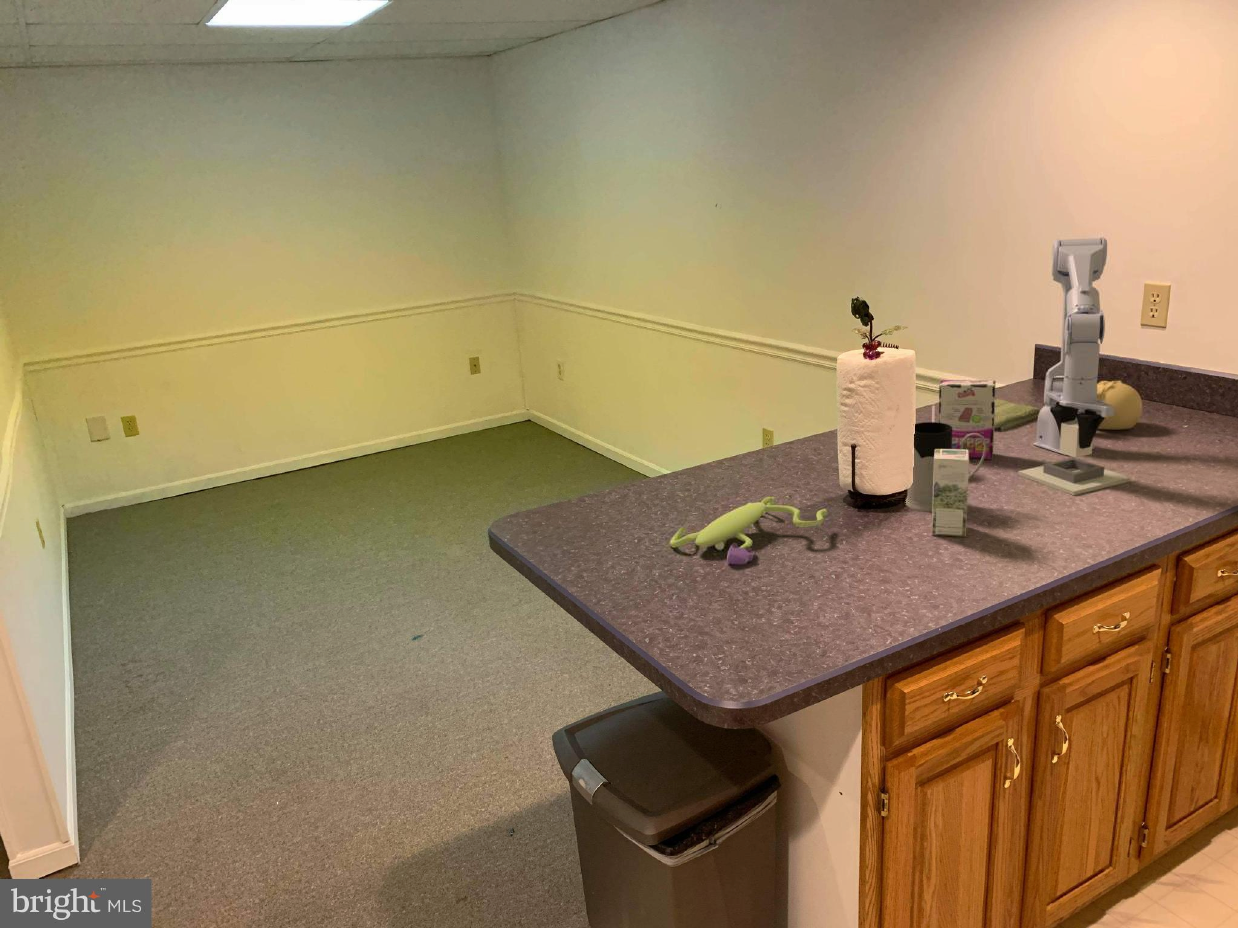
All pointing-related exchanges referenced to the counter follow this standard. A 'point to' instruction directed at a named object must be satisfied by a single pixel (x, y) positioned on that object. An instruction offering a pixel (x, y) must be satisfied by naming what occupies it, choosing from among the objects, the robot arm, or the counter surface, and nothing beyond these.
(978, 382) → the candy bar box
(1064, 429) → the block
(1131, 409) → the sculpture
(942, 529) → the syrup box
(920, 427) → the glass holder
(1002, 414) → the washcloth
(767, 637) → the counter surface
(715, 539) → the figurine
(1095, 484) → the charging dock
